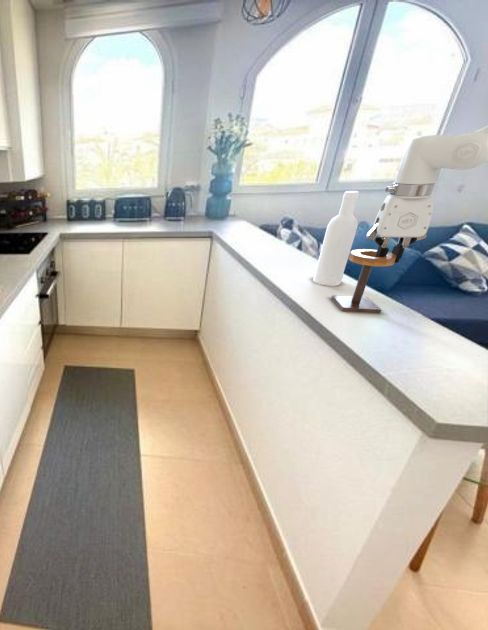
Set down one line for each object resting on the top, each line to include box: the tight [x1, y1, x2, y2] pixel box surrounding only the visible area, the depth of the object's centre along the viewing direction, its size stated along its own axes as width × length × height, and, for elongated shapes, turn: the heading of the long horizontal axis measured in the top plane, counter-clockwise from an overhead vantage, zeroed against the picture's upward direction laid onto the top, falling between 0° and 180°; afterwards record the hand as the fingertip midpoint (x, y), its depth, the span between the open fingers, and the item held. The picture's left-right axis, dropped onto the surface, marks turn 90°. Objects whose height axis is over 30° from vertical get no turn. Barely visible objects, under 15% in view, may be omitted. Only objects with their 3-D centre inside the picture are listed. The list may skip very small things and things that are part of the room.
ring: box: [348, 248, 397, 267], centre depth 95 cm, size 10×10×2 cm
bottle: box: [312, 190, 360, 287], centre depth 112 cm, size 8×8×30 cm
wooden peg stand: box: [330, 265, 382, 315], centre depth 98 cm, size 9×9×14 cm
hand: (386, 260), depth 94 cm, fingers closed on ring, 2 cm apart
